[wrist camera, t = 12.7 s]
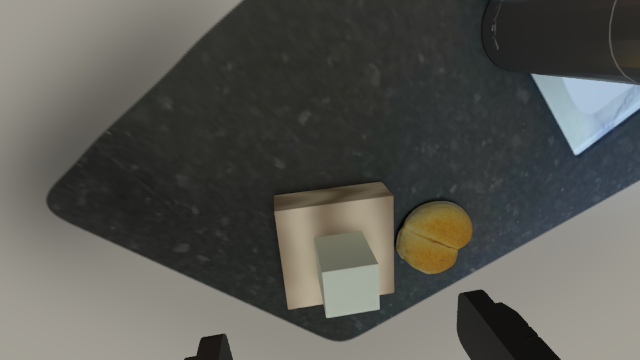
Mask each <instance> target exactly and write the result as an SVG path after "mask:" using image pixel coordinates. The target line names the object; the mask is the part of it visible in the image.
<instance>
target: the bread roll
mask: <svg viewBox="0 0 640 360" xmlns="http://www.w3.org/2000/svg"><path fill="white" fill-rule="evenodd" d="M472 232H473V228H472V223H471V220H470V218H469V216H468V215H467V213H466V212H465V211H464V210H463V209H462V208H461V207H460V206H458V205H456V204H455V203H452V202H448V201H434V202H429V203H426V204H423V205H421V206H419V207H417V208H416V209H414V210H413V211H412V212H411V213H410V214H409V215H408V216H407V218H406V219H405V222H404V225H403V226H402V228H401V229H400V230H399V232H398V235H397V239H396V250H397V252H398V254H399V255H400V257H401V258H403V259H405V260H406V261H407V262H408V263H409V264H410V265H411V266H413V267H414V268H415V269H419V270H420V271H422V272H425V273H426V274H431V273H440V272H442V271H444V270H446V269H448V268H450V267H451V266H452V265H453V264H454V263H455V261H456V258H457V253H458V249H459V248H461V247H463V246H465V245H466V244H467V243H468V242H469V241H470V239H471V236H472Z"/></svg>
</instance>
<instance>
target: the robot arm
mask: <svg viewBox="0 0 640 360" xmlns="http://www.w3.org/2000/svg"><path fill="white" fill-rule="evenodd" d="M482 39H483V43H484V48H485V50H486V52H487V54H488V56H489V57H490V59H491V60H492V61H493V63H495V64H496V65H497V66H499V67H500V68H502V69H505V70H507V71H514V72H522V73H531V74H539V75H548V76H558V77H568V78H577V79H588V80H597V81H607V82H617V83H626V84H635V85H640V0H491V1H490V3H489V5H488V7H487V9H486V12H485V15H484V20H483V26H482ZM457 333H458V337H459V340H460V342H461V344H462V346H463V348H464V350H465V351H466V353H467V354H468V356H469V357H470V359H471V360H561V359H560V358H559V357H558V356H557V355H556V354H555V353H554V352H553V351H552V350H551V349H550V347H549V346H548V345H547V344H546V343H545V342H544V341H543V340H542V339H541V338H540V337H538V335H537V333H536V332H535V331H534V330H533V329H532V328H531V327H529V326H528V323H527V322H526V321H525V320H524V319H523V318H522V317H521V316H520V315H519V314H518V313H517V312H516V311H515V310H513V309H511V308H510V307H508V306H507V305H505V304H503V303H501V302H500V303H494V302H493V300H492V299H491V298H490V297H489V296H488V295H487V293H485V291H483V290H475V291H470V292H464V293H460V294H459V296H458V311H457ZM184 360H233V358H232V354H231V351H230V347H229V343H228V339H227V336H226V334H219V335H213V336H208V337H203V338H201V340H200V343H199V347H198V351H197V356H193V357H188V358H185V359H184Z"/></svg>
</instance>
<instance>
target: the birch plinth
mask: <svg viewBox="0 0 640 360" xmlns="http://www.w3.org/2000/svg"><path fill="white" fill-rule="evenodd" d="M274 214H275V221H276V228H277V235H278V241H279V248H280V255H281V262H282V269H283V276H284V283H285V290H286V297H287V304H288V309H295V308H301V307H307V306H313V305H320V304H323V299H322V295H321V290H320V285H319V281H318V273H317V264H316V254H315V244H314V238H315V237H322V236H329V235H336V234H343V233H350V232H357V231H362V232H363V234H364V236H365V238H366V240H367V242H368V244H369V246H370V248H371V250H372V252H373V254H374V256H375V258H376V260H377V262H378V268H379V295H382V294H388V293H394V217H393V195H392V193H391V192H390V191H389V190H388V189H387V187H386V186H385V185H384V184H383V183H382V182H375V183H367V184H359V185H351V186H344V187H336V188H328V189H320V190H313V191H305V192H297V193H289V194H282V195H274Z"/></svg>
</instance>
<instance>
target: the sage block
mask: <svg viewBox="0 0 640 360" xmlns="http://www.w3.org/2000/svg"><path fill="white" fill-rule="evenodd" d="M314 244H315V254H316V264H317V273H318V281H319V285H320V290H321V295H322V299H323V304H324V309H325V313H326V318H330V317H336V316H342V315H348V314H354V313H360V312H366V311H372V310H378V309H380V304H379V268H378V262H377V260H376V258H375V256H374V254H373V252H372V250H371V248H370V246H369V244H368V242H367V240H366V238H365V236H364V234H363V232H362V231H357V232H350V233H343V234H336V235H329V236H322V237H315V238H314Z"/></svg>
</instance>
